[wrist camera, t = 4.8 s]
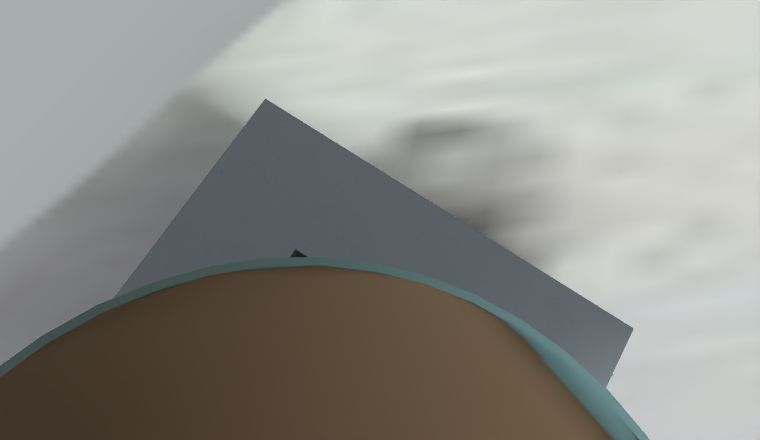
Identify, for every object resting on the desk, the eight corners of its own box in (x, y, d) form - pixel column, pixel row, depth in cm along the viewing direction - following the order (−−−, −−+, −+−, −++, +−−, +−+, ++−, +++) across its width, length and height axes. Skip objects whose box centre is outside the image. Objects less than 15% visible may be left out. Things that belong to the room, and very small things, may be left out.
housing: (390, 691, 14) (408, 810, 10) (48, 461, 14) (-43, 504, 11) (572, 327, 17) (633, 328, 13) (279, 144, 17) (265, 98, 14)
